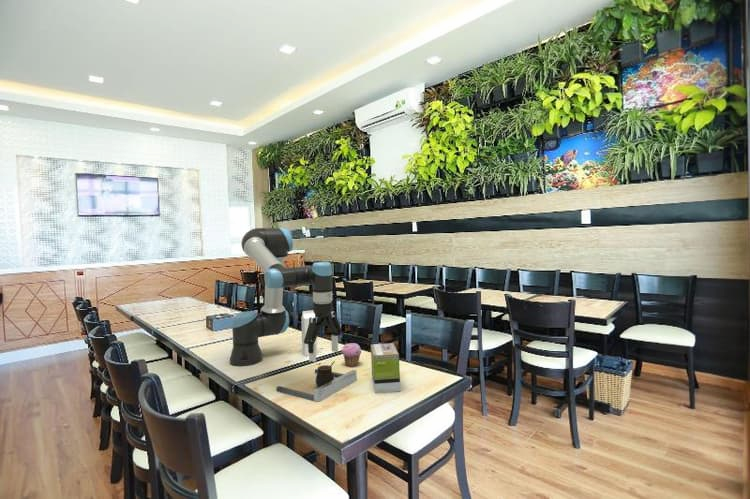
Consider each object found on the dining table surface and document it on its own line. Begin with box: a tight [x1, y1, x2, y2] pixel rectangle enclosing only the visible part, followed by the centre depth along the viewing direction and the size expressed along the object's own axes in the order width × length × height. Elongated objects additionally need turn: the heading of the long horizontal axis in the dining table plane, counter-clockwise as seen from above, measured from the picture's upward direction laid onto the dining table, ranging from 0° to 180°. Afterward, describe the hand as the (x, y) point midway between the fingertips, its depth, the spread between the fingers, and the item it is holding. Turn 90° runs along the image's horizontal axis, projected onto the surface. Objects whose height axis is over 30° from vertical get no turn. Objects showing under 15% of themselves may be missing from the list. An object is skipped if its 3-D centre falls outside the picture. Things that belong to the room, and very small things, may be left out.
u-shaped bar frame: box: [275, 368, 358, 403], centre depth 156 cm, size 21×24×4 cm
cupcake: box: [341, 342, 362, 367], centre depth 181 cm, size 9×9×10 cm
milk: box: [300, 309, 318, 357], centre depth 199 cm, size 6×6×22 cm
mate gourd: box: [315, 361, 335, 388], centre depth 154 cm, size 7×8×10 cm
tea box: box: [370, 342, 401, 394], centre depth 155 cm, size 15×10×15 cm, turn 5°
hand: (324, 356), depth 154 cm, fingers open, 13 cm apart
